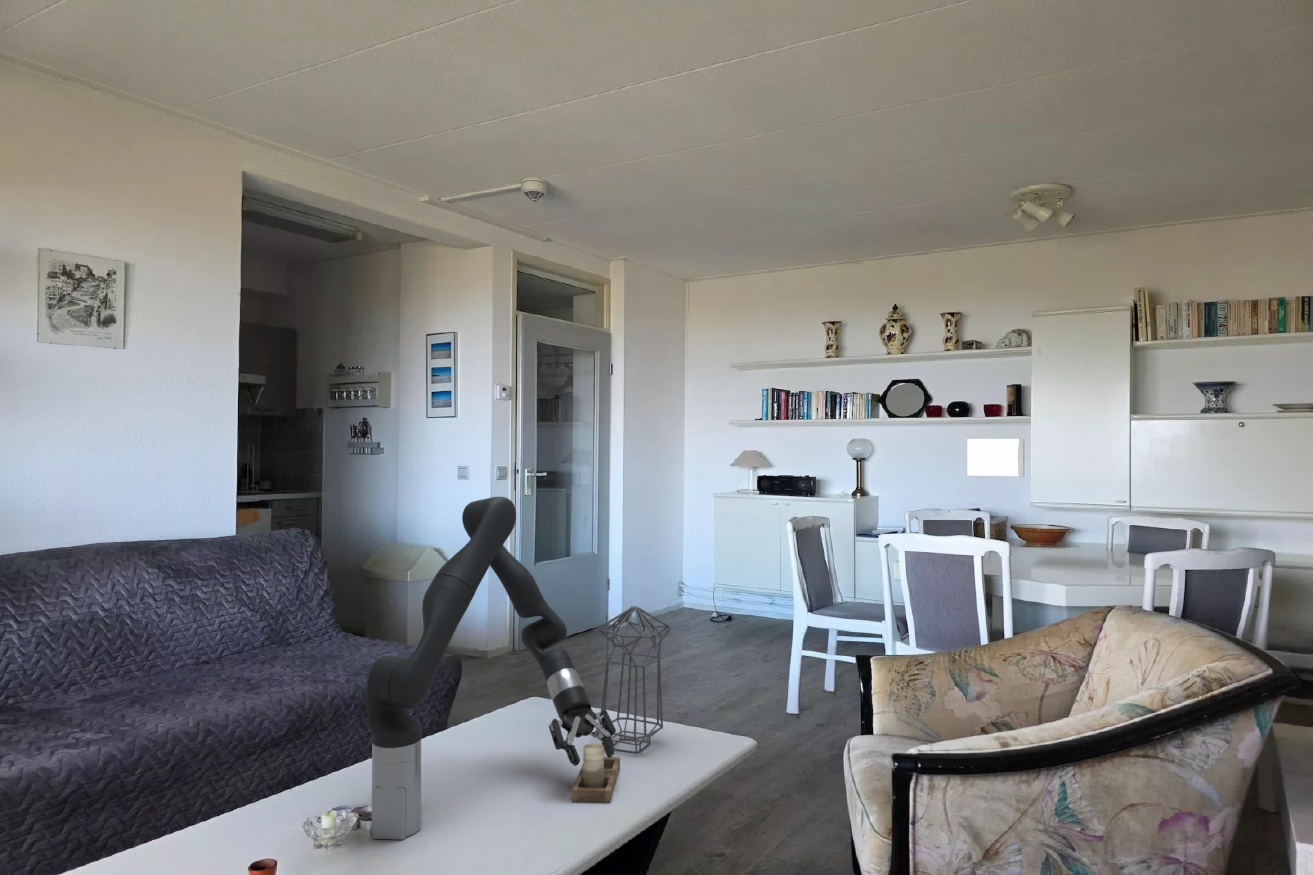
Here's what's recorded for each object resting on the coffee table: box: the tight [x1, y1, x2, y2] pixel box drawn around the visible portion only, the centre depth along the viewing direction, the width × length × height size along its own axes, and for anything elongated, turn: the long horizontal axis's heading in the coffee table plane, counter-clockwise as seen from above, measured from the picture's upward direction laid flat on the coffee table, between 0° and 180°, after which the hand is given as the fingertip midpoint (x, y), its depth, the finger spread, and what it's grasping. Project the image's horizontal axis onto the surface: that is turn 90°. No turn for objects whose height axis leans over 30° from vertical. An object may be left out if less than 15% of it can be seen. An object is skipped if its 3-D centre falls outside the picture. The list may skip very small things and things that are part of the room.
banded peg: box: [582, 743, 605, 788], centre depth 184 cm, size 4×4×10 cm
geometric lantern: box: [594, 606, 673, 754], centre depth 214 cm, size 16×16×35 cm
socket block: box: [571, 756, 621, 804], centre depth 189 cm, size 20×8×2 cm, turn 177°
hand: (594, 759), depth 183 cm, fingers open, 8 cm apart
